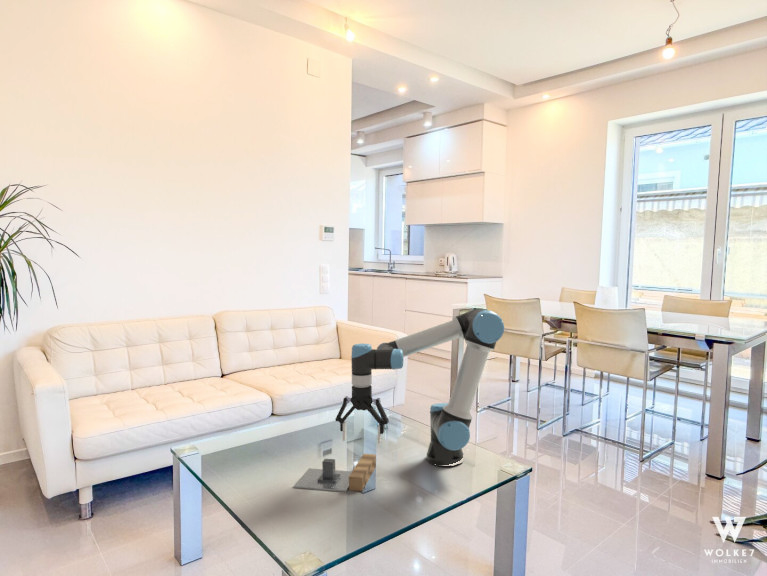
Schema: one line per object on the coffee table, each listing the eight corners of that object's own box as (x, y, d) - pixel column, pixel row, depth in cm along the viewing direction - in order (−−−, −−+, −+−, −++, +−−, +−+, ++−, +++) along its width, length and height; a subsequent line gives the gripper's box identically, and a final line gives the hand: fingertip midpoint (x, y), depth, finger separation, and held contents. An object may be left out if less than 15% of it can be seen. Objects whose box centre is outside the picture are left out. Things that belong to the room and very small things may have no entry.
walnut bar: (363, 466, 194) (363, 453, 194) (376, 466, 193) (375, 454, 193) (349, 490, 172) (348, 476, 172) (362, 491, 171) (362, 477, 171)
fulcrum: (357, 473, 186) (357, 454, 186) (346, 492, 171) (345, 470, 170) (309, 469, 190) (308, 450, 190) (293, 487, 175) (292, 467, 175)
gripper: (396, 384, 183) (396, 439, 183) (333, 381, 188) (333, 435, 189) (392, 389, 175) (392, 446, 176) (326, 385, 181) (327, 441, 181)
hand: (362, 440), depth 182 cm, fingers open, 13 cm apart
